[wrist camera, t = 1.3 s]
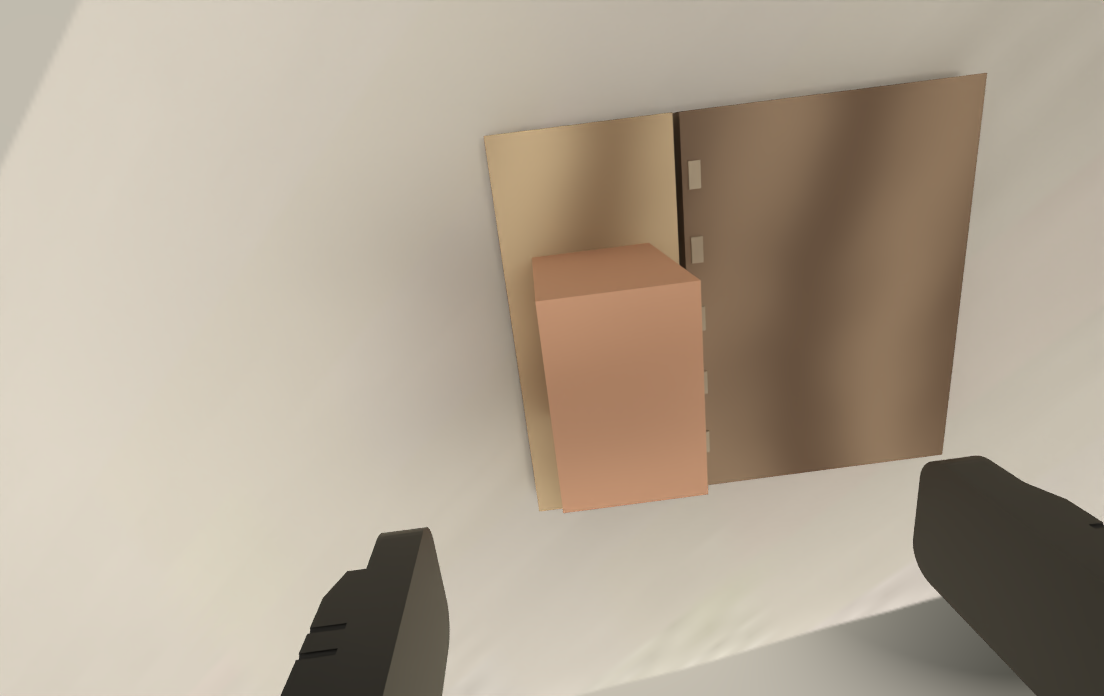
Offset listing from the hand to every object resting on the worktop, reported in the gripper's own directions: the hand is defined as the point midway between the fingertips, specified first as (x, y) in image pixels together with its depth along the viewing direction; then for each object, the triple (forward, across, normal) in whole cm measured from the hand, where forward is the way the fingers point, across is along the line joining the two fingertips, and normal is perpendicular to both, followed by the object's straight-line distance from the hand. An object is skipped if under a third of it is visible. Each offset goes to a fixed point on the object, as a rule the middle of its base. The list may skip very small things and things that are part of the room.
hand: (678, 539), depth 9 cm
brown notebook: (+13, -9, 0) cm, 16 cm away
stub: (+13, 0, 0) cm, 13 cm away
